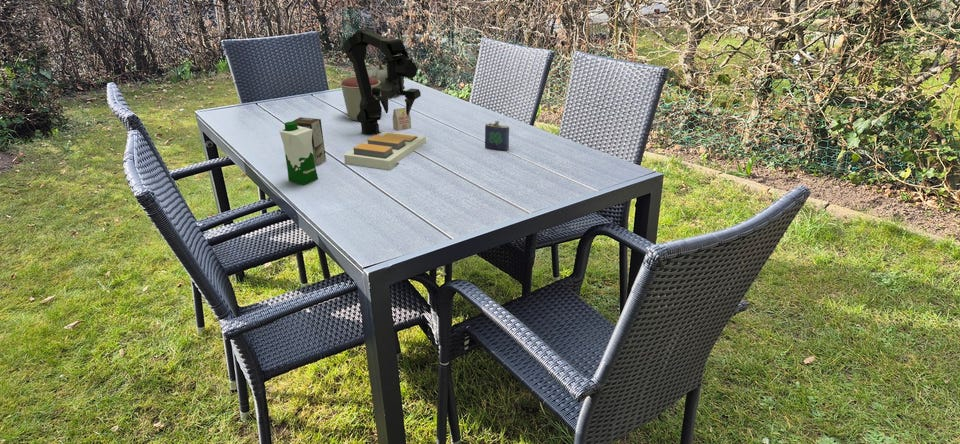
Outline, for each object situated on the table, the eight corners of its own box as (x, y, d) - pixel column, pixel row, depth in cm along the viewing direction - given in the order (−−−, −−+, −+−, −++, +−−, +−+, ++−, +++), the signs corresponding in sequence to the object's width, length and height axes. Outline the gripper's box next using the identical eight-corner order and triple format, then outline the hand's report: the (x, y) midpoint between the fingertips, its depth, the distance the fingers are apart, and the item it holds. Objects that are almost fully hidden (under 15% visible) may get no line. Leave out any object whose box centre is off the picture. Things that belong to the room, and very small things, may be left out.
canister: (391, 116, 270) (387, 70, 260) (364, 126, 256) (360, 78, 246) (362, 110, 278) (358, 66, 269) (335, 119, 265) (329, 73, 255)
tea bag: (393, 131, 249) (391, 108, 245) (407, 128, 253) (406, 106, 248) (397, 133, 247) (395, 110, 242) (411, 130, 250) (410, 108, 245)
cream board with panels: (335, 162, 215) (334, 153, 214) (376, 138, 240) (375, 130, 239) (390, 169, 208) (389, 161, 207) (426, 144, 233) (425, 136, 232)
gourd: (348, 94, 295) (350, 59, 290) (365, 91, 319) (367, 58, 314) (394, 101, 293) (397, 66, 287) (408, 97, 316) (411, 65, 311)
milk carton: (304, 173, 205) (295, 118, 196) (322, 178, 201) (314, 122, 192) (284, 181, 198) (275, 125, 190) (303, 187, 194) (294, 129, 185)
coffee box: (327, 160, 217) (321, 118, 210) (317, 166, 212) (311, 123, 204) (306, 157, 220) (300, 116, 212) (296, 163, 214) (289, 121, 207)
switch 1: (354, 154, 214) (353, 147, 212) (362, 149, 218) (361, 142, 217) (385, 158, 209) (384, 151, 208) (392, 153, 214) (392, 146, 213)
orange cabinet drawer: (381, 143, 231) (380, 136, 230) (388, 139, 236) (387, 132, 235) (410, 147, 227) (410, 140, 226) (416, 142, 232) (416, 136, 231)
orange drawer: (368, 146, 222) (367, 139, 221) (375, 141, 227) (375, 135, 226) (398, 150, 218) (397, 143, 217) (405, 145, 223) (404, 138, 221)
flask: (509, 149, 228) (510, 121, 223) (507, 151, 225) (507, 123, 220) (486, 146, 231) (486, 118, 226) (483, 148, 229) (483, 120, 223)
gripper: (362, 76, 215) (365, 117, 222) (406, 80, 210) (409, 122, 217) (377, 70, 225) (380, 109, 232) (420, 74, 219) (422, 114, 226)
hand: (397, 114), depth 226 cm, fingers open, 9 cm apart
